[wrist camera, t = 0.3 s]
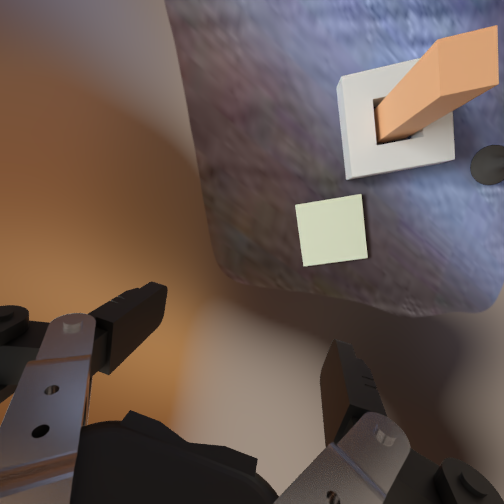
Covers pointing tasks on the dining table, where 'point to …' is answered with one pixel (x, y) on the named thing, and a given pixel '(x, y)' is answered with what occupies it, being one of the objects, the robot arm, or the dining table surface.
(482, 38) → the peg
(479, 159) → the sundae
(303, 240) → the pad
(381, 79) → the socket block
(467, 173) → the dining table surface
